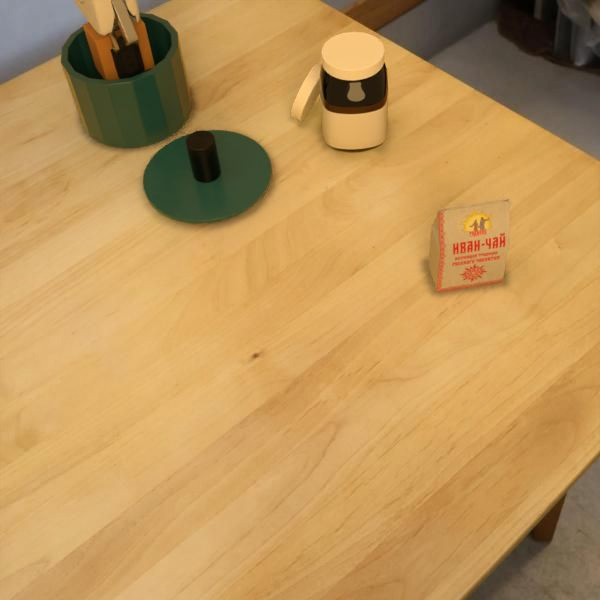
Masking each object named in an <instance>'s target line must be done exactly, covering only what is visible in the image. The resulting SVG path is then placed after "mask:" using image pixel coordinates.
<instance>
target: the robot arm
mask: <svg viewBox="0 0 600 600" xmlns="http://www.w3.org/2000/svg"><path fill="white" fill-rule="evenodd" d="M73 2H74V4H75V6H76V7H77V8H78V10H79V11H80V13H81V14H82V15H83V16H84V18H85V19H86V20H87V23H88V22H89V23H90V24H91V26H92V27H93V28H94V29H95V31H96V32H97V33H99V34H101V35H103V36H105V35H106V34H108V35H109V38H110V41H111V44H112V47H113V49H111V54H112V57H113V61H114V64H115V68H116V71H117V75H118V77H119V78H120V79H124V78H129V77H131V76H134V75H136V74H139V73H141V72H143V71H144V70H145V67H144V63H143V59H142V55H141V52H140V48H139V43H138V42H139V39H138V36H137V33H136V31H135V28H134V26H133V23H132V21H133V22H134V23H138V21H139V18H140V15H139V13H140V11H139V10H140V9H139V4H138V0H73ZM114 19H117V21H114ZM131 19H132V20H131ZM119 29H121V32H122V35H121V36H118V38H116V35H115V32H114V31H117V30H119Z"/></svg>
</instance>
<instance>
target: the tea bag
mask: <svg viewBox="0 0 600 600" xmlns="http://www.w3.org/2000/svg"><path fill="white" fill-rule="evenodd" d="M511 202H512V201H511V200H510V198H503V199H497V200H490V201H483V202H476V203H469V204H464V205H456V206H450V207H443V208H438V209H437V212H436V214H435V217H434V219H433V221H432V224H430V225H431V226H430V237H429V250H428V261H427V265H428V269H429V271H430V275H431V278H432V281H433V286H434V288H435V291H436V293H440V292H445V291H453V290H459V289H466V288H473V287H479V286H480V287H481V286H484V285H485V286H486V285H493V284H497V283H498V284H499V283H503V282H504V276H505V272H506V266H507V262H508V261H507V260H508V255H509V250H510V245H511V204H512V203H511Z"/></svg>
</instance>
